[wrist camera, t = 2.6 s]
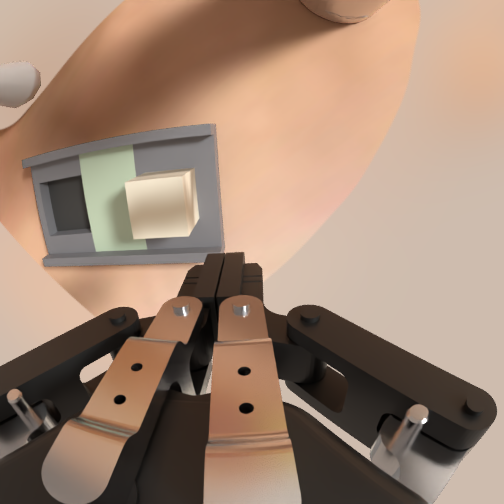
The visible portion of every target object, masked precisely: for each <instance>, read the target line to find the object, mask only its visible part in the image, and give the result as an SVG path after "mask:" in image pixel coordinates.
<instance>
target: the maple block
mask: <svg viewBox="0 0 504 504" xmlns="http://www.w3.org/2000/svg"><path fill="white" fill-rule="evenodd" d="M125 189H126V196H127V203H128V209H129V216H130V222H131V227H132V233H133V238H134V239H147V238H166V237H186V236H189V235H190V233H191V232H192V230H193V228H194V226H195V225H196V223H197V221H198V220H199V211H198V201H197V190H196V179H195V168H186V169H175V170H165V171H156V172H147V173H143V174H141V175H139V176H137V177H135V178H133V179H131V180H129V181H127V182H125Z"/></svg>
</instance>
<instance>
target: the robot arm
mask: <svg viewBox="0 0 504 504" xmlns="http://www.w3.org/2000/svg"><path fill="white" fill-rule="evenodd" d="M300 1H301V2H302V3H303V4H304V5H305V6H306V7H307V8H308V9H309V10H311V11H312V12H313V13H315V14H316V15H318V16H320V17H322V18H324V19H327V20H330V21H333V22H339V23H357V22H361V21H363V20H366V19H367V18H369V17H370V16H372V15H373V14H374V13H375V12H376V11H377V10H379V9H380V8H381V7H382V6H384V5H385V4H386V3H387V2H388V1H390V0H300ZM108 353H110V354H111V356H112V358H113V362H112V364H111V365H110V367H109V369H108V370H107V371H105V372H104V373H102V374H100V375H99V376H97V377H95V378H93V379H92V380H90V381H88V382H86V383H82V382H81V380H80V376H79V375H80V372H81V370H82V369H83V368H84V367H85V366H87V365H89V364H90V363H92V362H94V361H96V360H98V359H99V358H101V357H103V356H105V355H106V354H108ZM212 356H213V364H212V360H211V359H212ZM327 364H328V365H330V366H331V367H333V368H334V369H336V370H338V371H339V372H341V373H342V374H343V375H344V376H345V377H344V376H342V375H341V374H339V373H338V372H336V371H334V370H333V369H331V368H330V367H328V366H327ZM211 371H212V382H211V393H209V394H205V393H206V389H207V386H208V382H209V379H210V375H211ZM279 379H282V380H285V383H286V386H287V387H288V388H289V389H290V390H291V391H292V392H293V393H295V394H296V395H297V396H298V397H300V398H301V399H302V400H304V401H305V402H306V403H308V404H309V405H310V406H311V407H313V408H314V409H315V410H317V411H318V412H319V413H321V414H322V415H323V416H325V417H326V418H327V419H329V420H330V421H332V422H333V423H334V424H336V425H337V426H338V427H340V428H341V429H343V430H344V431H345V432H347V433H349V434H350V435H351V436H353V437H354V438H355V439H357V440H358V441H360V442H361V443H363V444H364V445H366V446H367V447H368V448H370V449H371V450H370V458H371V461H369V460H368V459H367V458H365V457H364V456H362V455H361V454H360V453H359V452H357V451H356V450H354V449H353V448H352V447H351V446H349V445H348V444H347V443H345V442H344V441H343V440H342V439H340V438H339V437H338V436H337V435H335V434H334V433H333V432H332V431H330V430H329V429H327V427H325V426H324V425H323V424H322V423H320V422H319V421H318V420H317V419H315V418H314V417H313V416H312V415H310V414H309V413H307V412H306V411H304V410H303V409H301V408H298V407H296V406H294V405H292V404H289V403H286V402H282V397H281V391H280V385H279ZM496 415H497V407H496V404H495V402H494V400H493V398H492V397H491V396H490V395H489V394H488V393H487V392H486V391H484V390H482V389H480V388H478V387H476V386H474V385H472V384H470V383H468V382H466V381H464V380H462V379H460V378H458V377H456V376H454V375H452V374H450V373H448V372H446V371H444V370H442V369H440V368H438V367H436V366H434V365H432V364H431V363H428V362H427V361H425V360H423V359H421V358H419V357H417V356H415V355H413V354H411V353H409V352H407V351H405V350H403V349H401V348H399V347H398V346H396V345H394V344H392V343H390V342H388V341H386V340H384V339H382V338H380V337H378V336H376V335H374V334H372V333H371V332H369V331H367V330H365V329H363V328H361V327H359V326H357V325H355V324H354V323H352V322H350V321H348V320H346V319H344V318H342V317H340V316H338V315H336V314H335V313H333V312H331V311H329V310H327V309H325V308H323V307H320V306H316V305H302V306H298V307H295V308H293V309H292V310H291V311H289V313H288V314H287V316H284V315H279V314H275V313H273V312H271V311H269V310H268V309H267V308H266V307H265V306H264V304H263V278H262V268H261V267H260V266H259V265H258V264H257V263H247V264H245V256H244V252H235V253H226V254H225V253H209V254H207V256H206V259H205V262H204V265H195V266H194V267H193V268H191V269H190V270H189V271H188V273H187V275H186V277H185V280H184V282H183V284H182V286H181V289H180V291H179V293H178V296H177V297H176V298H173V299H170V300H168V301H167V302H165V303H164V304H163V305H162V307H161V309H160V310H159V312H158V313H157V315H156V316H153V317H147V318H142V319H139V317H138V313H137V311H136V310H135V309H133V308H130V307H118V308H114V309H111V310H109V311H107V312H105V313H103V314H101V315H99V316H97V317H95V318H93V319H91V320H89V321H87V322H85V323H84V324H82V325H80V326H78V327H76V328H74V329H72V330H70V331H68V332H66V333H64V334H62V335H60V336H58V337H56V338H54V339H52V340H50V341H48V342H46V343H44V344H42V345H41V346H39V347H37V348H35V349H33V350H31V351H29V352H27V353H25V354H23V355H21V356H19V357H17V358H15V359H13V360H12V361H10V362H8V363H6V364H4V365H2V366H0V504H433V503H434V502H435V500H436V499H437V497H438V496H439V495H440V493H441V492H442V490H443V489H444V487H445V486H446V484H447V483H448V481H449V480H450V478H451V476H452V475H453V473H454V472H455V470H456V469H457V467H458V465H459V463H460V462H461V460H463V458H464V457H465V456H466V455H467V454H468V453H469V452H470V451H471V449H472V448H473V447H474V446H475V444H476V443H477V442H478V441H479V440H480V439H481V437H482V436H483V435H484V433H485V432H486V431H487V430H488V429H489V427H490V426H491V424H492V423H493V422H494V420H495V418H496Z"/></svg>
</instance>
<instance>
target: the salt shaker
mask: <svg viewBox="0 0 504 504" xmlns="http://www.w3.org/2000/svg"><path fill="white" fill-rule="evenodd" d="M40 86H41V81H40V72H39V71H38V70H37V69H36V68H35V67H34V66H33V65H32V64H31V63H30V62H27V61H19V62H12V63H4V64H0V105H2V106H6V107H12V108H16V107H19V106H21V105H23V104H25V103H27V102H28V101H30V100H31V99H33V98H34V96H35V94H36V93H37V91H38V89H39V88H40Z"/></svg>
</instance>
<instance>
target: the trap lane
mask: <svg viewBox="0 0 504 504" xmlns="http://www.w3.org/2000/svg"><path fill="white" fill-rule="evenodd" d="M22 166H23V169H24V168H27V167H31V172H32V178H33V185H34V191H35V196H36V202H37V207H38V211H39V216H40V221H41V225H42V229H43V234H44V238H45V242H46V245H47V249H48V253H49V254H48V255H47V256H45V257H44V258H43V259H42V260H43V263H44V266H91V265H130V264H165V263H197V262H205V259H206V256H207V254H209V253H224V249H225V244H224V232H223V220H222V207H221V194H220V181H219V167H218V152H217V137H216V124H201V125H191V126H182V127H174V128H166V129H159V130H152V131H146V132H140V133H134V134H128V135H122V136H117V137H112V138H107V139H102V140H97V141H92V142H88V143H83V144H79V145H75V146H71V147H67V148H63V149H59V150H55V151H51V152H48V153H44V154H41V155H37V156H34V157H30V158H27V159H24V160H22ZM186 168H195V179H196V190H197V201H198V211H199V220H198V221H197V223H196V225H195V226H194V228H193V230H192V232H191V233H190V235H189V236H186V237H166V238H147V239H134V238H133V233H132V227H131V222H130V216H129V209H128V203H127V196H126V189H125V182H127V181H129V180H131V179H133V178H135V177H137V176H139V175H141V174H143V173H147V172H156V171H165V170H175V169H186Z"/></svg>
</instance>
